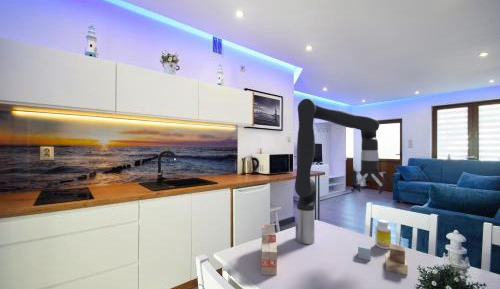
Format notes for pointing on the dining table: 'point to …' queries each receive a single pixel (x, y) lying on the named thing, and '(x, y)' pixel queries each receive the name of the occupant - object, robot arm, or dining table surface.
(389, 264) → the oak base
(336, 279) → the dining table surface
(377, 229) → the supplement bottle
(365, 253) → the slate cube
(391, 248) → the walnut cube
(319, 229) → the dining table surface
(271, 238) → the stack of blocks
